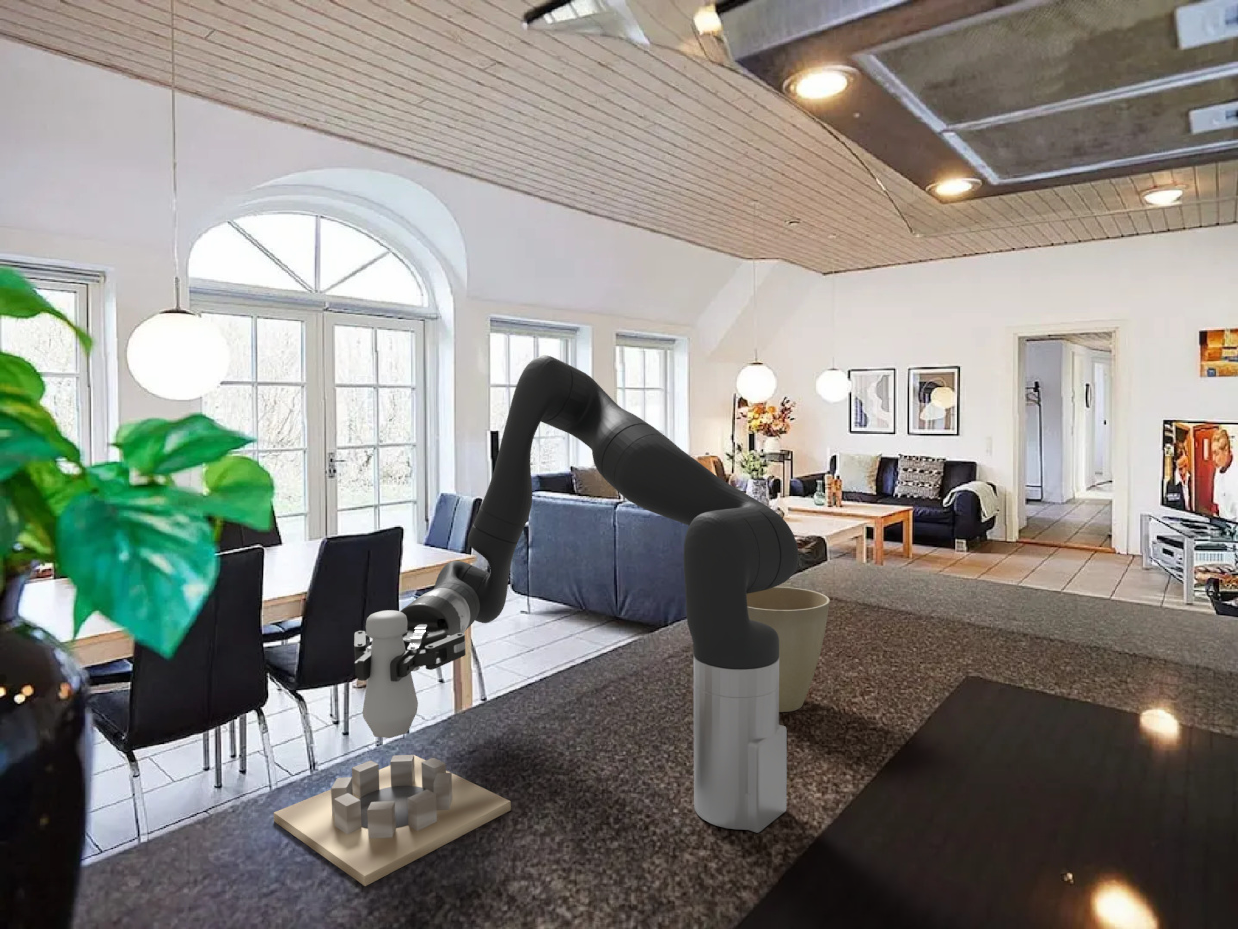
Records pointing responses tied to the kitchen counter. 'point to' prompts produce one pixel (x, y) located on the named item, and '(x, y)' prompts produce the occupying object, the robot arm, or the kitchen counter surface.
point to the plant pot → (793, 636)
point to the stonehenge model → (390, 815)
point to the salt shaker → (388, 678)
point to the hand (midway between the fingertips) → (377, 672)
